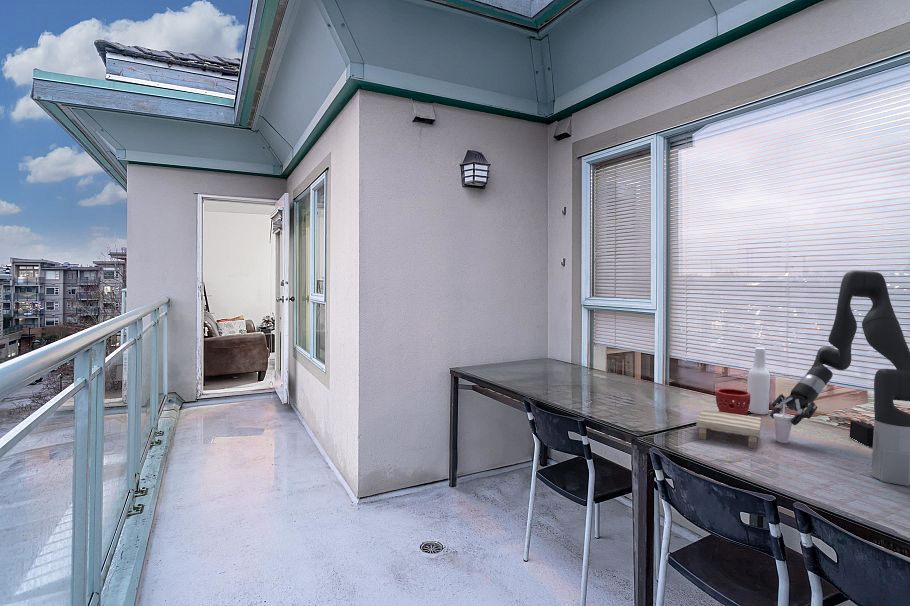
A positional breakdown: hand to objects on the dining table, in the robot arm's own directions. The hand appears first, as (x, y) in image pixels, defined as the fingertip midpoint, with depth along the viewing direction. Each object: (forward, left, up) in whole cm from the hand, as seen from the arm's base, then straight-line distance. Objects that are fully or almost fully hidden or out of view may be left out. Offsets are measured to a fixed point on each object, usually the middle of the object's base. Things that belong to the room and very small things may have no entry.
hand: (782, 420), depth 180 cm
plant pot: (+26, +18, -8) cm, 33 cm away
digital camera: (+19, -27, -8) cm, 34 cm away
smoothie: (0, 0, -8) cm, 8 cm away
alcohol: (+46, +9, -8) cm, 48 cm away
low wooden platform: (-7, +17, -8) cm, 20 cm away
